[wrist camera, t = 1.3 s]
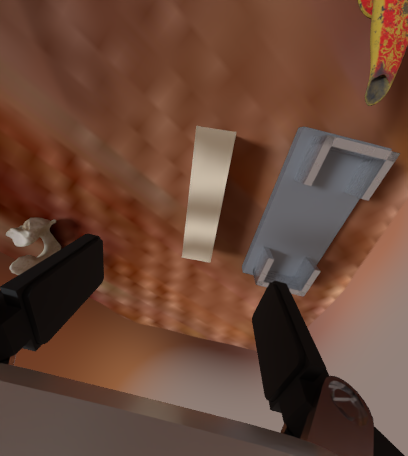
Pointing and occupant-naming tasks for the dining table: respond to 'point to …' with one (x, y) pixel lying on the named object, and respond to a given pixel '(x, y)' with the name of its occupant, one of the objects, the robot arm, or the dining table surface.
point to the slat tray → (305, 208)
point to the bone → (28, 236)
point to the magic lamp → (385, 43)
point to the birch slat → (206, 190)
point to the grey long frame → (359, 187)
